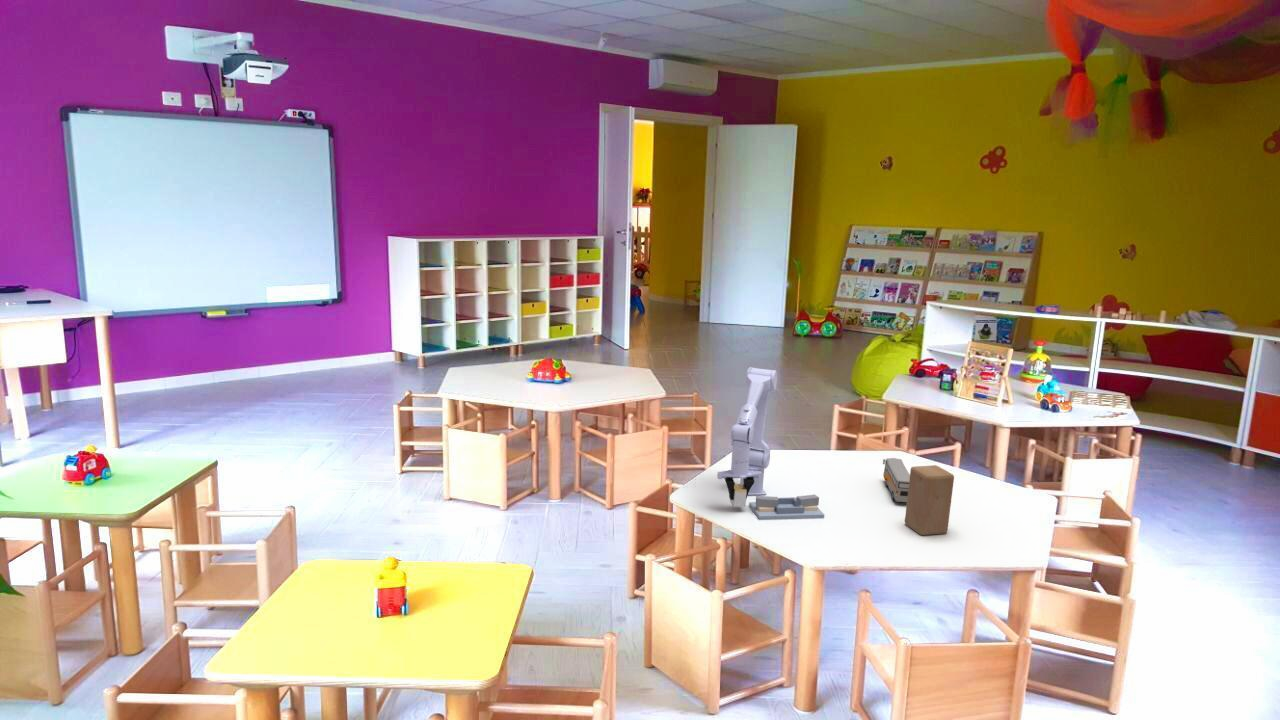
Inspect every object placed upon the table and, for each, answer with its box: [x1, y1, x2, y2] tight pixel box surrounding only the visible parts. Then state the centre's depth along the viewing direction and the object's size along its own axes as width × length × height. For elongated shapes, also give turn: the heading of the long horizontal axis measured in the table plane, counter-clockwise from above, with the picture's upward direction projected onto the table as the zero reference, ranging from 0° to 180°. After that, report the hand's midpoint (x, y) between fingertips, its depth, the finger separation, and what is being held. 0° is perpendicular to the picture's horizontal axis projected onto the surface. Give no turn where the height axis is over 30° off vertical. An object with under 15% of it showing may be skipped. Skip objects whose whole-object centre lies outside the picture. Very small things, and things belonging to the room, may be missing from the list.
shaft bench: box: [748, 494, 825, 521], centre depth 281 cm, size 12×22×5 cm, turn 99°
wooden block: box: [904, 464, 955, 536], centre depth 270 cm, size 10×10×20 cm
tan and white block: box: [729, 483, 747, 508], centre depth 281 cm, size 5×4×6 cm
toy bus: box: [882, 457, 910, 503], centre depth 301 cm, size 7×26×10 cm, turn 174°
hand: (737, 498), depth 281 cm, fingers closed on tan and white block, 4 cm apart
